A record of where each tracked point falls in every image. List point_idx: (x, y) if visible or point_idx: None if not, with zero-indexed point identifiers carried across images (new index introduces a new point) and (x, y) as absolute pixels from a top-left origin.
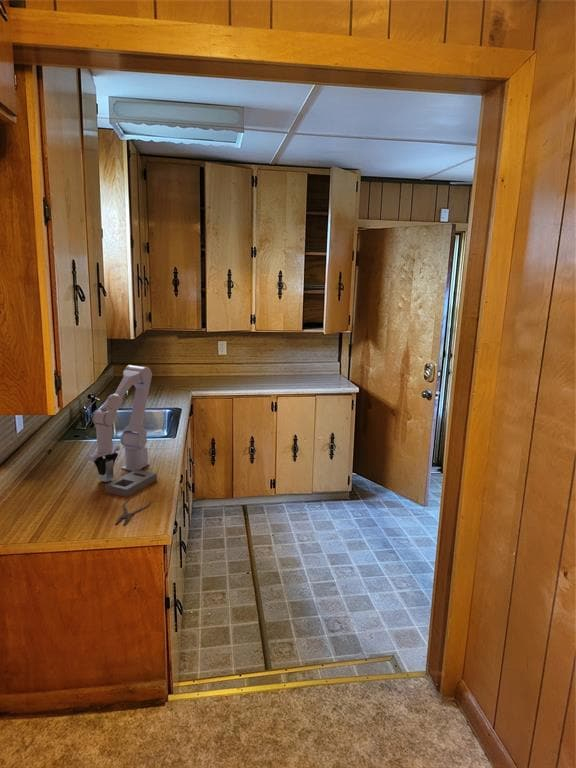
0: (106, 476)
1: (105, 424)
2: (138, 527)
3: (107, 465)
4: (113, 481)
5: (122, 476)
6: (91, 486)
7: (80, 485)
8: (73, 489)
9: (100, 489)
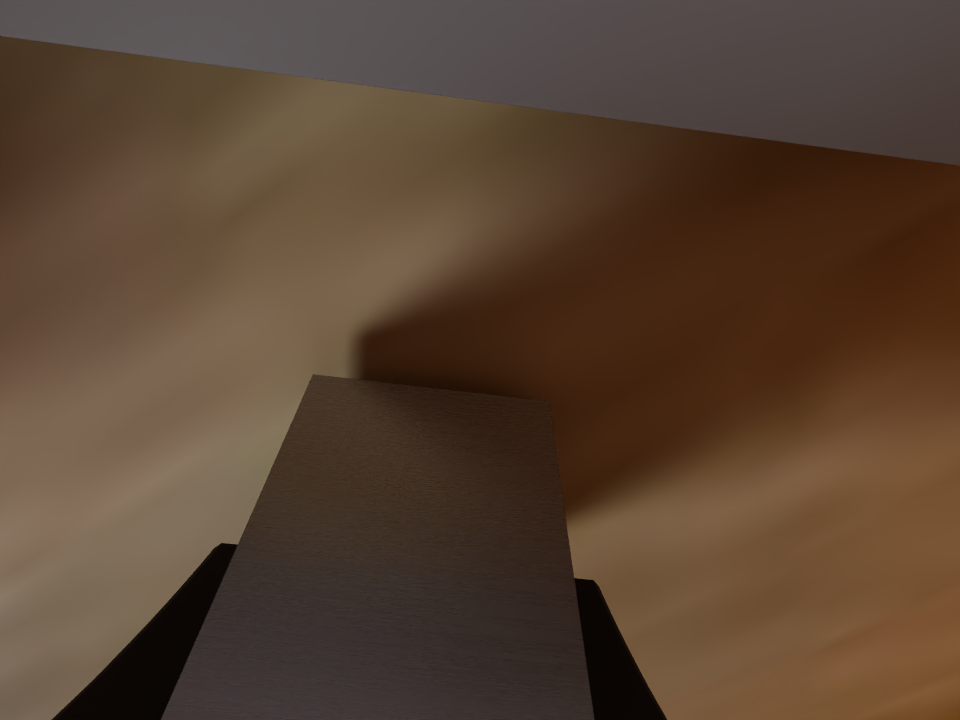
0: (554, 491)
1: None
2: None
3: None
4: (877, 96)
5: (361, 53)
6: (729, 545)
7: (722, 686)
8: (892, 689)
9: (849, 334)
